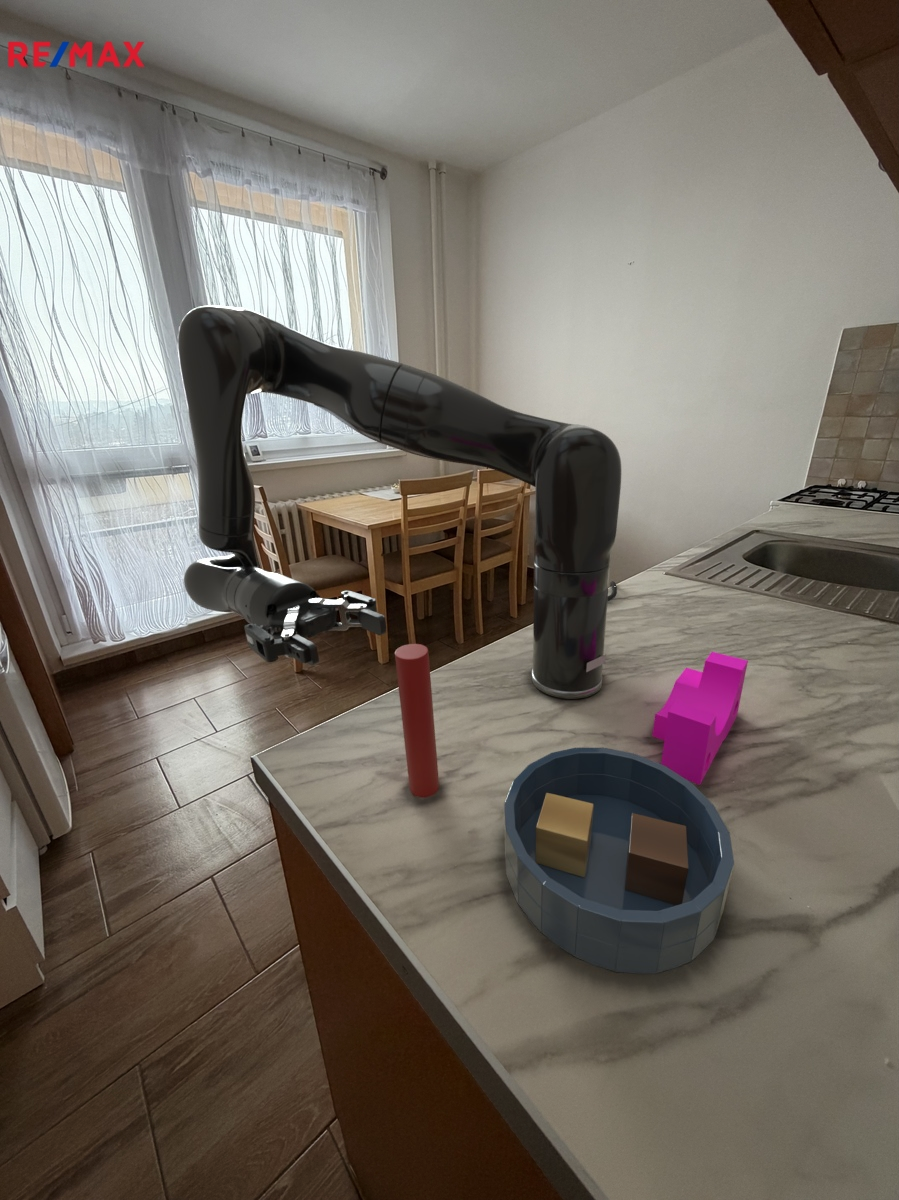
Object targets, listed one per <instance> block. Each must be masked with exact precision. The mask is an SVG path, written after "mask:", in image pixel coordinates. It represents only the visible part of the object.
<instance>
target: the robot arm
mask: <svg viewBox="0 0 899 1200" xmlns="http://www.w3.org/2000/svg"><path fill="white" fill-rule="evenodd" d="M177 333H178V334H177V352H178V361H179V367H180V373H181V378H182V379H181V380H182V385H183V389H184V396H185V400H186V401H185V402H186V406H187V411H188V412H187V413H188V418H189V424H190V429H191V435H192V441H193V447H194V452H195V459H196V467H197V483H198V485H197V486H198V535H199V540H200V541H201V543H202V544H203V545H204V546H205V547H207V548H209V549H210V550H213V551H217V552H223V553H230V554H228V555H220V556H213V557H206V558H200V559H197V560H195V561H193V562H192V563H191V564H189V565H188V567H186V570H185V571H184V576H183V584H184V589H185V591H186V593H187V595H188V596H189V598H190V599H191V600H192V601H193V602H194V603H195V604H196V605H197V606H199V607H201V608H203V609H205V610H209V611H214V612H215V611H216V612H221V613H229V614H236V615H238V616H239V617H241V618H243V619H244V620H245V621H246V622H247V623H248V624H245V625H244V626H243V628H244V633H245V638H246V641H247V644H248V648H249V649H250V650H252V652H254V653H255V654H256V655H258V657H260V658H261V659H262V660H264V661H265V662H266V663H274V662H277V661H278V660H279V657H281V656H284V657H285V658H287V659H288V658H289V659H290V658H293V659H294V660H296V661H298V662H300V664H301V663H302V664H308V665H310V666H314V665H317V664H319V663H320V657H319V653H318V648H317V645H316V644H315V643H314V642H313V641H311V640H308V639H310V638H313V637H315V636H317V635H319V634H321V633H322V634H323V633H325V632H331V631H332V632H334V631H335V632H336V631H337V632H338V631H339V632H345V631H347V630H349V629H350V628H362V629H363V630H366V631H368V632H370V633H372V634H375V635H377V636H379V637H380V636H383V635H385V634H387V622H386V616H385V615H384V614H381V613H379V612H378V610H377V598H375V597H371V596H368V595H365V594H361V593H358V592H355V591H351V590H343V591H341V593H340V595H341V598H338V599H331V598H323V597H321V595H319V593H318V592H317V591H316V590H315V589H314V588H313V587H312V586H310V585H309V584H307V583H304V582H302V581H299V580H296V579H294V578H291V577H289V576H286V575H284V574H281V573H278V572H272V571H268V570H265V569H263V568H262V567H261V563H260V561H259V557H258V553H257V547H256V541H255V535H254V531H255V530H254V529H255V515H256V489H255V483H254V479H253V475H252V473H251V470H250V467H249V465H248V461H247V459H246V454H245V451H244V446H243V445H244V444H243V439H242V437H243V435H242V427H243V426H242V425H243V415H244V411H245V410H244V409H245V403H246V399H247V397H248V395H251V394H258V393H265V394H266V393H267V394H272V395H277V396H281V397H286V398H290V399H294V400H297V401H301V402H304V403H308V404H310V405H313V406H316V407H318V408H320V409H322V410H323V411H326V412H327V413H329V414H330V415H332V416H333V417H335V418H336V419H338V420H339V421H340V422H341V423H343V424H345V425H346V426H348V427H349V428H350V429H352V430H354V431H355V432H357V433H359V434H360V435H361V436H364V437H366V438H368V439H370V440H372V441H374V442H377V443H379V444H381V445H384V446H388V447H390V448H394V449H396V450H399V451H402V452H405V453H408V454H412V455H414V456H415V455H416V456H419V457H423V458H427V459H433V460H437V461H443V462H448V463H455V464H463V465H470V466H478V467H482V468H486V469H491V470H494V471H497V472H499V473H502V474H505V475H507V476H510V477H512V478H515V479H516V480H519V481H521V482H524V483H526V484H528V485H530V486H532V487H534V488H535V494H534V495H535V500H534V501H535V509H534V511H535V512H534V513H535V514H534V540H533V620H532V621H533V623H532V624H533V625H532V627H533V631H532V635H533V636H532V670H531V681H532V684H533V685H534V687H535V688H536V689H538V690H539V691H540V692H542V693H544V694H546V695H547V696H548V695H549V696H551V697H554V698H558V699H559V698H560V699H567V700H577V699H585V698H588V697H591V696H594V695H595V694H597V693H598V692H599V691H600V690H601V688H602V686H603V666H604V664H606V658H607V653H606V654H604V653H605V640H606V628H607V627H606V626H607V613H608V612H607V611H608V602H609V601H612V600H613V599H614V598H616V596H617V593H618V588H617V584H616V582H615V581H614V580H611V582H610V570H611V569H610V567H611V566H610V565H611V558H612V557H611V555H612V549H613V547H614V545H615V541H616V536H617V530H618V520H619V519H618V518H619V509H620V499H621V488H622V461H621V455H620V452H619V449H618V448H617V446H616V443H614V441H613V440H612V439H611V438H610V437H609V436H608V435H606V433H603V432H602V431H601V430H598V429H596V428H593V427H591V426H589V425H588V426H587V425H583V424H574V423H568V422H562V421H557V420H553V419H547V418H544V417H539V416H535V415H531V414H527V413H523V412H520V411H516V410H513V409H510V408H508V407H505V406H503V405H501V404H499V403H497V402H494V401H493V400H491V399H489V398H487V397H485V396H483V395H481V394H479V393H477V392H475V391H473V390H471V389H469V388H467V387H464V386H463V385H460V384H458V383H455V382H454V381H451V380H450V379H446V378H444V377H442V376H439V375H436V374H434V373H431V372H429V371H426V370H423V369H420V368H417V367H414V366H411V365H408V364H405V363H402V362H399V361H395V360H391V359H387V358H384V357H381V356H378V355H374V354H370V353H366V352H362V351H359V350H353V349H348V348H344V347H341V346H340V347H339V346H336V345H331V344H329V343H326V342H322V341H321V340H317V339H315V338H313V337H310V336H309V335H306V334H304V333H301V332H299V331H297V330H295V329H293V328H290V327H288V326H286V325H284V324H282V323H281V322H278V321H276V320H274V319H272V318H270V317H268V316H265V315H264V314H261V313H260V312H257V311H255V310H252V309H248V308H244V307H239V306H238V307H237V306H222V305H203V306H198V307H196V308H193V309H191V310H190V311H189V312H188V313H186V314H185V316H184V317H183V318H182V319H181V322H180V326H179V327H178V332H177ZM231 553H232V554H231ZM609 582H610V583H609ZM609 586H610V587H611V591H612V592H611V594H609ZM614 586H616V587H614ZM338 611H339V616H340V622H337V615H338ZM351 615H353V616H357V618H352V617H351ZM307 638H308V639H307Z"/></svg>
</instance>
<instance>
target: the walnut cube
mask: <svg viewBox="0 0 899 1200" xmlns="http://www.w3.org/2000/svg"><path fill="white" fill-rule="evenodd" d="M687 874H688V850H687V831H686V826H684V825H680V824H676V823H671V822H667V821H663V820H659V819H655V818H651V817H647V816H642V815H638V814H634V813H632V818H631V826H630V835H629V844H628V855H627V868H626V880H625V890H627V891H630V892H634V893H637V894H640V895H644V896H647V897H650V898H654V899H657V900H660V901H664V902H667V903H670V904H674V905H680V904H682V902H683V896H684V890H685V885H686V879H687Z"/></svg>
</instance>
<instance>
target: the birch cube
mask: <svg viewBox="0 0 899 1200" xmlns="http://www.w3.org/2000/svg"><path fill="white" fill-rule="evenodd" d="M593 808H594V805H593V804H592V803H588V802H584V801H580V800H575V799H571V798H567V797H563V796H559V795H555V794H551V793H546V795H545V799H544V802H543V806H542V809H541V812H540V816H539V819H538V823H537V826H536V863H537V864H541V865H544V866H548V867H551V868H554V869H558V870H561V871H564V872H568V873H571V874H574V875H578V876H581V877H585V874H586V868H587V862H588V856H589V850H590V843H591V835H592V822H593Z"/></svg>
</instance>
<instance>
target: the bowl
mask: <svg viewBox="0 0 899 1200" xmlns="http://www.w3.org/2000/svg"><path fill="white" fill-rule="evenodd" d="M546 793H551V794H555V795H559V796H563V797H567V798H571V799H575V800H580V801H584V802H588V803H592V804H593V805H594V808H593V822H592V835H591V843H590V850H589V856H588V862H587V868H586V874H585V877H581V876H578V875H574V874H571V873H568V872H564V871H561V870H558V869H554V868H551V867H548V866H544V865H541V864H537V863H536V826H537V823H538V819H539V816H540V812H541V809H542V806H543V802H544V799H545V795H546ZM503 806H504V807H503V808H504V816H503V817H504V857H505V859H504V860H505V875H506V878H507V880H508V883H509V884H510V888H511V892H512V893H513V895H514V899H515V900H516V903H517V905H518V906H519V907H520V908H521V910H522V911H523V913H524V914H525V916H526V917H527V918H528V919H529V921H530V922H531V923H532V924H533V925H534V926H535V928H536V929H537V930H538V931H539V932H540V933H541V934H542V935H543V936H545V937H546V938H547V939H548V940H550V941H551V942H552V943H553V944H554V945H556V946H557V947H559V948H560V949H562V950H563V951H565V952H566V953H568V954H570V955H571V956H573V957H575V958H576V959H579V960H581V961H584V962H586V963H588V964H591V965H593V966H596V967H598V968H602V969H605V970H609V971H612V972H616V973H626V974H639V975H640V974H643V975H644V974H645V975H646V974H651V975H652V974H653V975H654V974H655V975H656V974H659V973H663V972H666V971H670V970H674V969H677V968H679V967H681V966H683V965H686V964H689V963H691V962H693V960H694V959H695V958H697V957H698V956H699V955H701V953H702V952H704V950H705V949H706V948H707V947H708V946H709V945H710V944H711V943H712V942H714V940H715V938H716V935H717V932H718V928H719V927H720V926H719V925H720V922H721V919H722V916H723V913H724V910H725V907H726V906H725V905H726V901H727V897H728V892H729V889H730V885H731V884H730V883H731V880H732V874H733V871H734V867H735V858H734V852H733V845H732V838H731V833H730V831H729V829H728V827H727V825H726V824H725V822H724V820H723V817H721V815H720V813H719V811H718V810H717V808H716V806H715V804H713V803H712V802H711V801H710V800H709V798H707V797H706V796H705V795H704V794H703V793H702V792H701V791H700V790H699V789H698V787H696V786H695V785H694V784H693V782H691V781H689V780H686V779H685V778H683V777H682V776H680V775H678V774H677V773H675V772H674V771H672V770H671V769H669V768H668V767H666V766H664V765H662V764H661V763H659V762H657V761H654V760H651V759H650V758H646V757H644V756H642V755H640V754H637V753H634V752H629V751H625V750H620V749H614V748H609V747H572V748H566V749H563V750H557V751H553V752H550V753H548V754H546V755H545V756H544V755H543V756H542V757H540V758H538V759H537V760H534V761H532V762H531V763H529V764H527V766H526V767H525V768H524V769H522V771H521V772H520V773H519V774H518V775H517V776H516V777H515V778H514V779H513V780H512V782H511V785H510V788H509V790H508V793H507V796H506V798H505V801H504V803H503ZM632 813H634V814H638V815H642V816H647V817H651V818H655V819H659V820H663V821H667V822H671V823H676V824H680V825H684V826H686V831H687V850H688V874H687V879H686V885H685V890H684V896H683V902H682V904H680V905H674V904H670V903H667V902H664V901H660V900H657V899H654V898H650V897H647V896H644V895H640V894H637V893H634V892H630V891H627V890H625V880H626V868H627V855H628V844H629V835H630V826H631V818H632Z"/></svg>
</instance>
